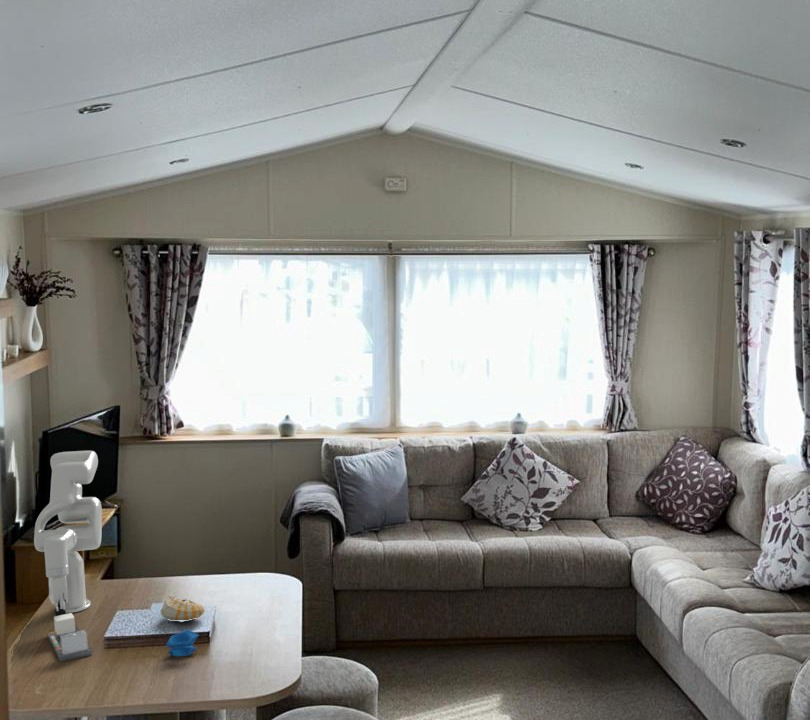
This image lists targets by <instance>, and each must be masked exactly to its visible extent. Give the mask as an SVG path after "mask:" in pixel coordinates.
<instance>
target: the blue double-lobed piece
mask: <svg viewBox="0 0 810 720" xmlns="http://www.w3.org/2000/svg"><path fill="white" fill-rule="evenodd" d="M199 636H200V634H199V633H197V632H195V631H193V630H191V629H185V630H183V631H181V632H178V633H175V634H173V635H171V636H170V637H169V639H168V640H167V642H166V645H165V647H167V648H171V649H170V650H168V651H167V654H168V655H171V656H172V657H187V656H188V657H189V656H191V655H192V654H193V653H194V652H195V651H196V650H197V647H195V646H193V645H194V643H195V641H196V640H197V638H198V637H199Z"/></svg>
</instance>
